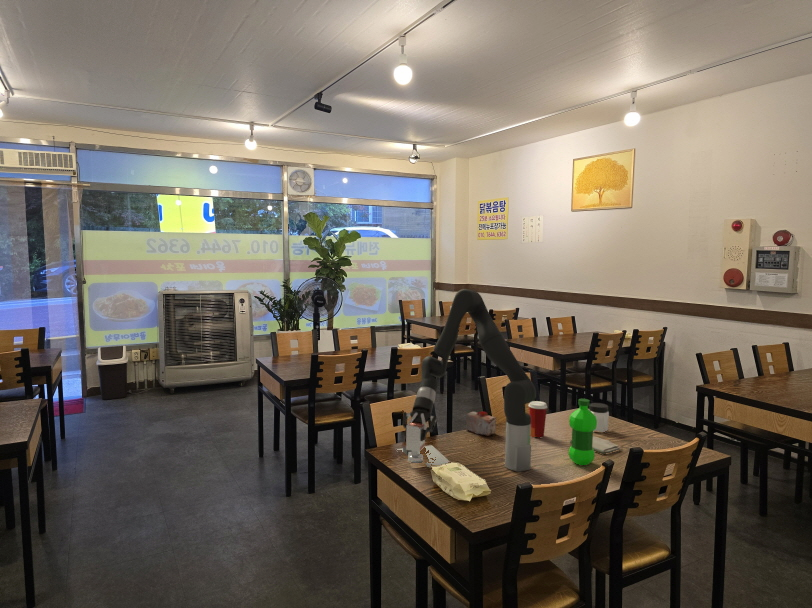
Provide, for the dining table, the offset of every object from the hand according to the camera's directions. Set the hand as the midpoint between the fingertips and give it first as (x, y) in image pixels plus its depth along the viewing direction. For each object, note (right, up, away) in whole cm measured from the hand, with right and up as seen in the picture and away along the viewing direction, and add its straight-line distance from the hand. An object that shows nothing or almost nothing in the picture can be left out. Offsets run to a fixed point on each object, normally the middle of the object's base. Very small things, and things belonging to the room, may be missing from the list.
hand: (414, 439), depth 204 cm
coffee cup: (+55, -8, +35) cm, 66 cm away
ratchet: (-1, -9, +6) cm, 10 cm away
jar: (+86, -7, +44) cm, 97 cm away
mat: (+4, -9, +7) cm, 12 cm away
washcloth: (+77, -10, +22) cm, 81 cm away
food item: (+31, -7, +39) cm, 50 cm away
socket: (+1, -4, +2) cm, 5 cm away
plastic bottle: (+65, -10, +4) cm, 66 cm away
